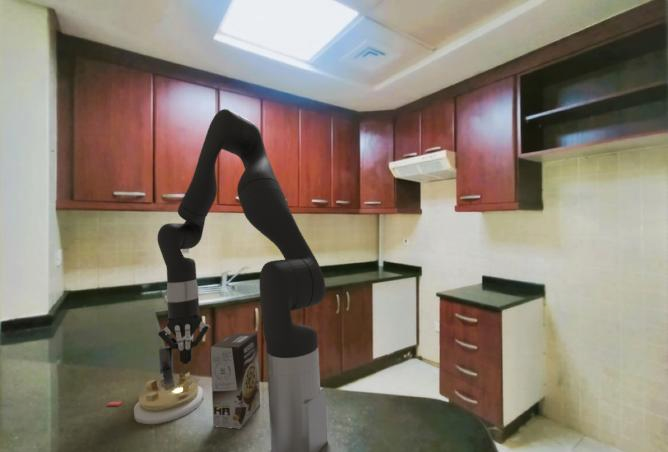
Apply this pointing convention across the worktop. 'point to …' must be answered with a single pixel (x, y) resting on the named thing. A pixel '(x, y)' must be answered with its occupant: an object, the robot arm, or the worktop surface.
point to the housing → (167, 411)
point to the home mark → (114, 403)
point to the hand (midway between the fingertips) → (186, 362)
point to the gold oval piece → (167, 386)
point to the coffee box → (235, 380)
